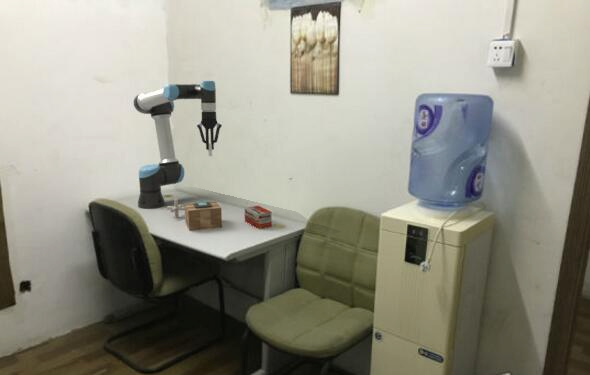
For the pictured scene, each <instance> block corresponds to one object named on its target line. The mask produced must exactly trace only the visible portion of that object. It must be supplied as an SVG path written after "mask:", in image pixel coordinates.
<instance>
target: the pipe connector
mask: <svg viewBox="0 0 590 375" xmlns="http://www.w3.org/2000/svg"><path fill="white" fill-rule="evenodd" d="M173 203H174V205H173V206H172V205H167V206H166V209H167V210H170V213H174V218H175V219H178V218H179V211H185V206H183V205H182V204H179V201H178V198H174V202H173Z"/></svg>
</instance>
